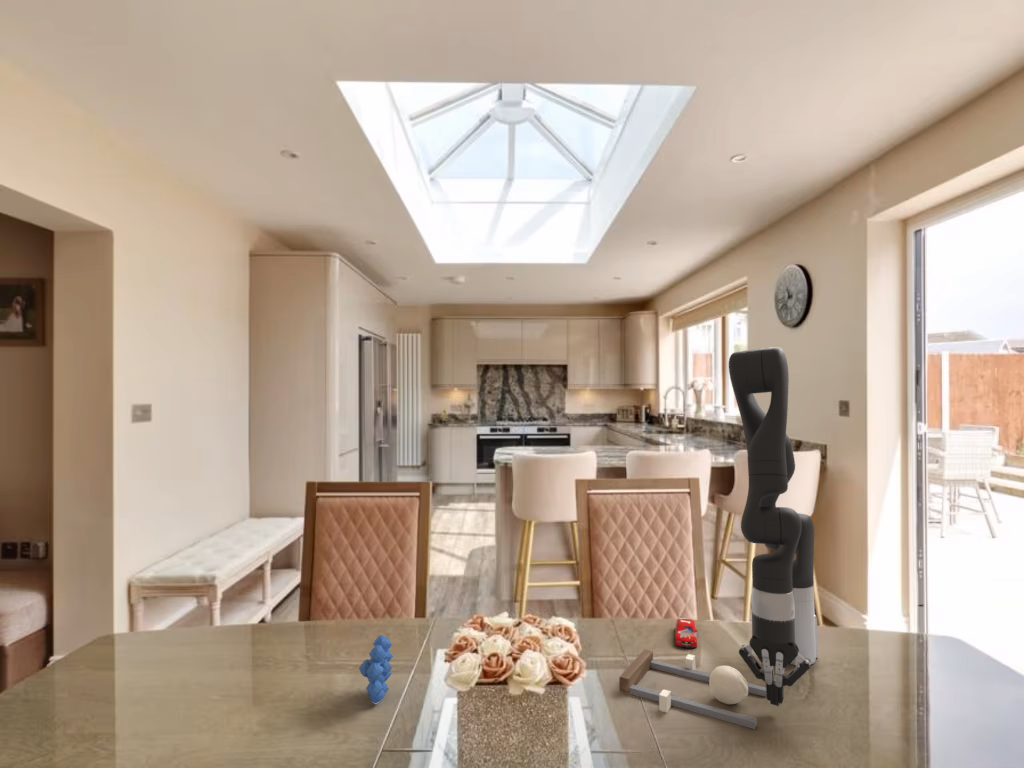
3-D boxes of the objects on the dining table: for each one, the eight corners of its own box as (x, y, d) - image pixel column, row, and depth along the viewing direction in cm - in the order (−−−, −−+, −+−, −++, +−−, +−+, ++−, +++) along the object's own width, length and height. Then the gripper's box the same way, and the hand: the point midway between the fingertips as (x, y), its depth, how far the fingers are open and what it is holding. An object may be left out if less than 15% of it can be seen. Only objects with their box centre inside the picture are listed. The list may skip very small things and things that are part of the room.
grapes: (366, 683, 122) (366, 626, 122) (398, 683, 122) (397, 626, 122) (350, 713, 110) (350, 650, 111) (385, 712, 110) (384, 650, 111)
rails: (767, 693, 116) (767, 687, 116) (754, 729, 103) (754, 722, 103) (652, 665, 129) (652, 659, 129) (629, 693, 116) (629, 687, 116)
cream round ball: (745, 715, 108) (744, 679, 108) (705, 704, 112) (705, 670, 112) (751, 699, 114) (751, 665, 114) (714, 689, 118) (713, 657, 118)
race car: (697, 652, 136) (697, 635, 136) (674, 649, 137) (673, 632, 137) (697, 630, 148) (697, 614, 148) (676, 627, 150) (675, 612, 150)
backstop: (653, 664, 129) (652, 651, 129) (628, 693, 116) (628, 679, 116) (644, 662, 130) (644, 649, 130) (619, 691, 117) (619, 676, 117)
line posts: (695, 669, 126) (695, 655, 126) (667, 712, 109) (666, 696, 109) (688, 667, 127) (688, 654, 127) (659, 710, 110) (659, 694, 110)
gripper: (813, 612, 108) (816, 704, 108) (740, 599, 115) (742, 685, 115) (809, 625, 102) (812, 723, 101) (732, 611, 109) (734, 702, 109)
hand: (775, 703), depth 108 cm, fingers closed
